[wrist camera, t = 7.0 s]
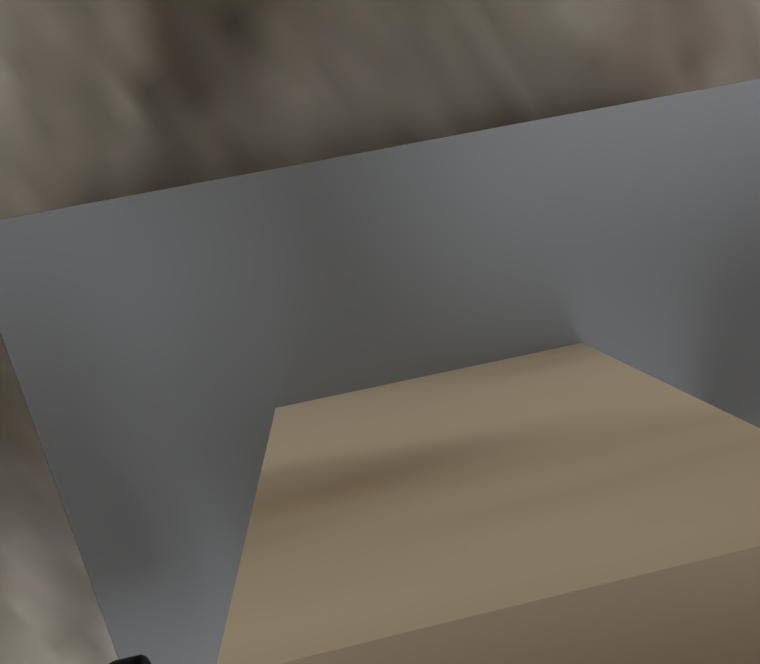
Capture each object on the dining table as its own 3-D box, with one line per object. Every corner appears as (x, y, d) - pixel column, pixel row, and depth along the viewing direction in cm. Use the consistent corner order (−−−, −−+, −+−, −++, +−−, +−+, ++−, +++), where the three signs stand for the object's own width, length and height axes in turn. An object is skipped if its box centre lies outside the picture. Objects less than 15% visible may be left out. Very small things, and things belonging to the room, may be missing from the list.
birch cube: (607, 603, 10) (895, 988, 5) (339, 669, 9) (360, 1152, 5) (582, 342, 9) (921, 506, 4) (275, 407, 8) (213, 679, 3)
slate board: (687, 602, 14) (787, 707, 11) (222, 721, 13) (194, 868, 10) (657, 112, 11) (779, 75, 8) (64, 224, 10) (-39, 226, 7)
